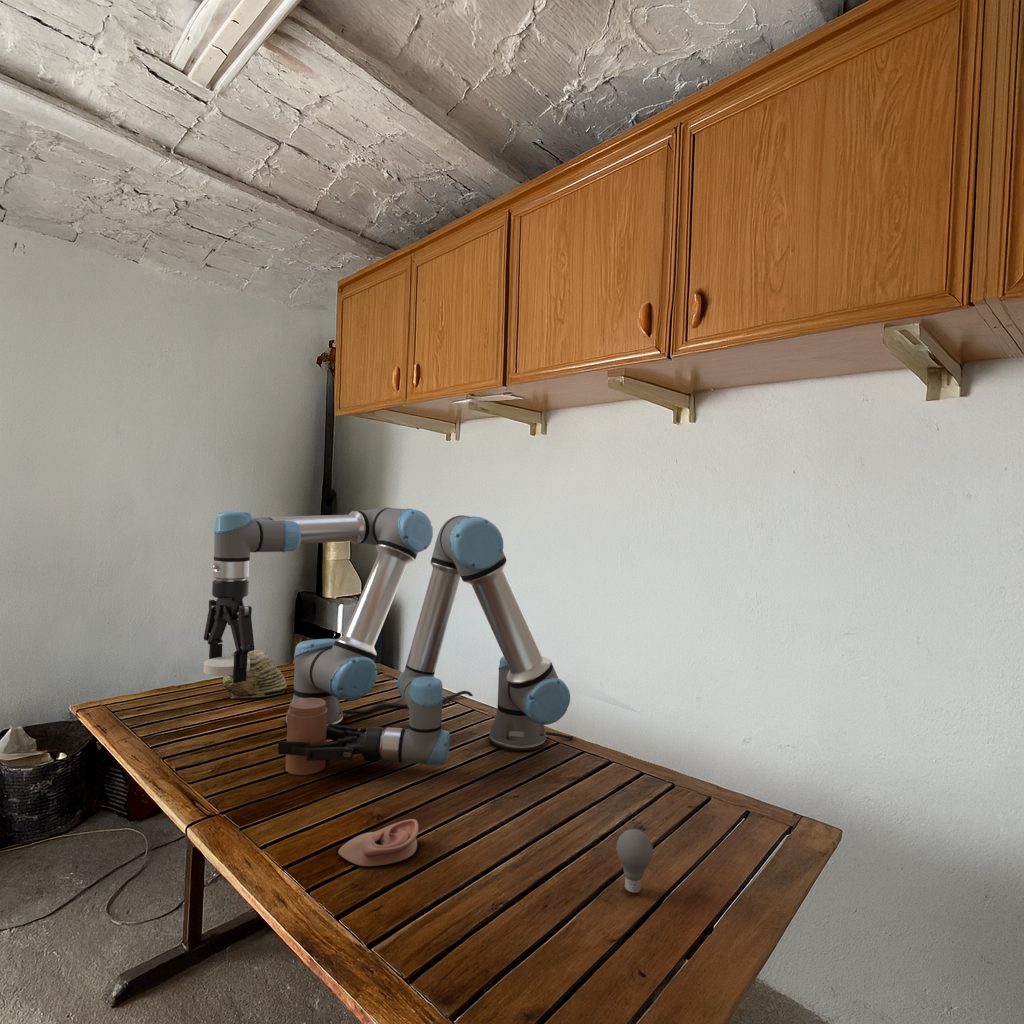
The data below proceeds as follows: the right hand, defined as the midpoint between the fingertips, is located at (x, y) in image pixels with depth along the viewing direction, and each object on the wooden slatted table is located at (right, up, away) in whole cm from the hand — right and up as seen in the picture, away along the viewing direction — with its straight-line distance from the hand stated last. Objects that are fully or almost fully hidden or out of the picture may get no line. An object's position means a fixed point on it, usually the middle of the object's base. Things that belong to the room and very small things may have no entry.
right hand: (287, 739), depth 148 cm
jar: (+4, -6, 0) cm, 8 cm away
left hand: (-12, +16, -4) cm, 20 cm away
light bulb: (+73, -10, -42) cm, 85 cm away
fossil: (-28, -4, +50) cm, 57 cm away
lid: (-12, +19, -4) cm, 23 cm away
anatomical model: (+29, -8, -34) cm, 45 cm away
